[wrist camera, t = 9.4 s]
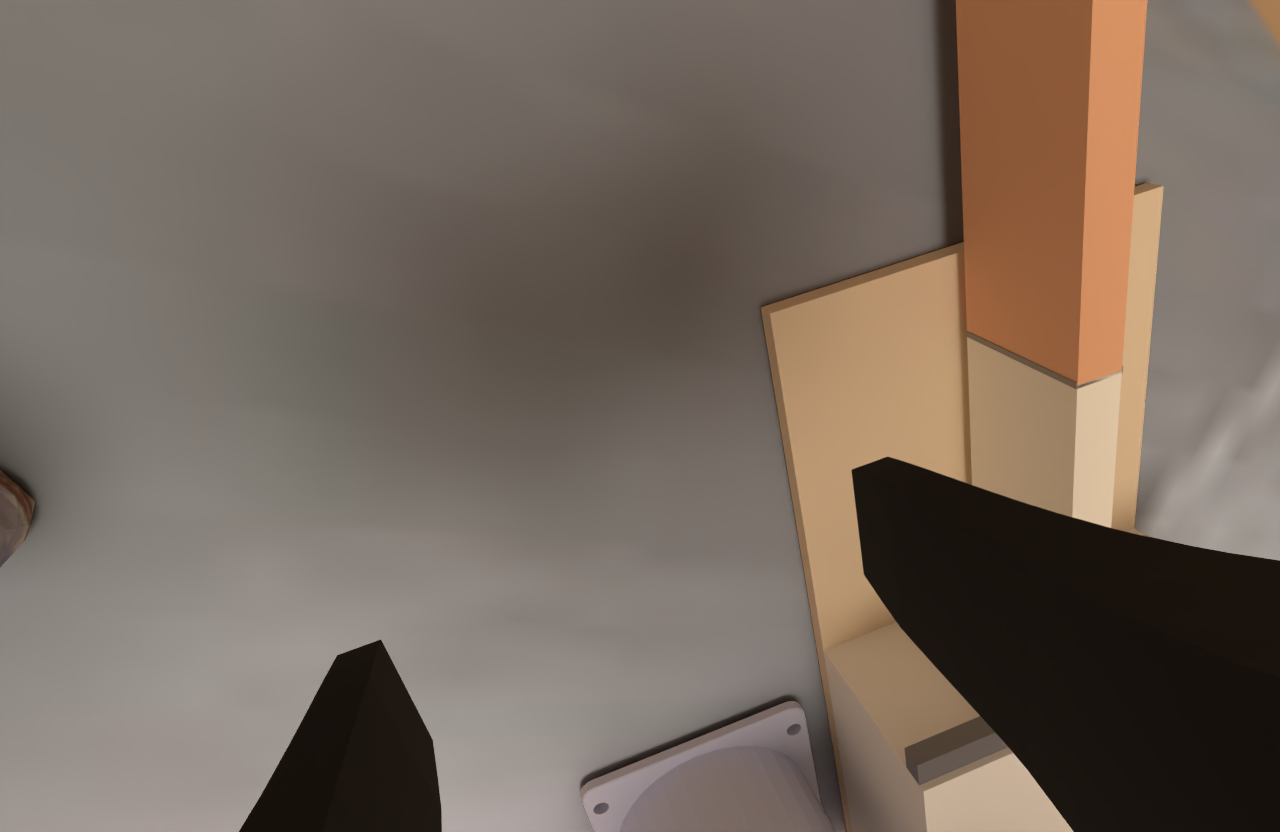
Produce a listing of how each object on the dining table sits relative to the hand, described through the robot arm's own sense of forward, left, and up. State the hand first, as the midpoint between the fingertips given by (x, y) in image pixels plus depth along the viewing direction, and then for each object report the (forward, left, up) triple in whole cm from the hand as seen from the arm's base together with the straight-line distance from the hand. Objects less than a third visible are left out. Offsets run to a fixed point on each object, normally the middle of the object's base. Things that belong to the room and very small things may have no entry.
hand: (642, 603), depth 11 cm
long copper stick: (0, -12, -8) cm, 15 cm away
